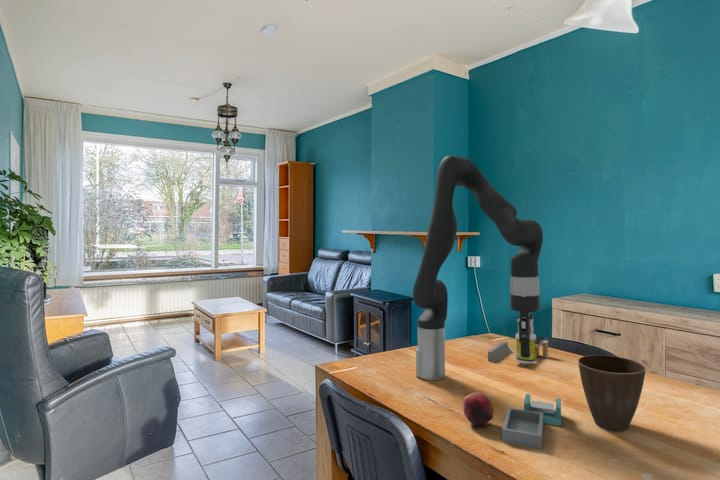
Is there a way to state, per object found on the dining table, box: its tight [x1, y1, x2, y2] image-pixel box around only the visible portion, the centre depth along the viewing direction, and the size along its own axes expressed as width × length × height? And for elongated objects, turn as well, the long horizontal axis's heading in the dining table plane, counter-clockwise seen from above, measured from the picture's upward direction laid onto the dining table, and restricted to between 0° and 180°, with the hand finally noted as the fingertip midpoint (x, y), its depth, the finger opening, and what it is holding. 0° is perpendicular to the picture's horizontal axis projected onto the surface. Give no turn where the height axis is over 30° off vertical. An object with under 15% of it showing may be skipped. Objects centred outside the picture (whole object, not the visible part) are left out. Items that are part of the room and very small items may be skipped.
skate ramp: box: [487, 338, 549, 368], centre depth 165 cm, size 29×35×8 cm
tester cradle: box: [523, 393, 562, 427], centre depth 116 cm, size 9×7×4 cm
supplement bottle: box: [514, 325, 538, 365], centre depth 119 cm, size 5×5×10 cm
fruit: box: [462, 391, 495, 427], centre depth 112 cm, size 8×8×8 cm
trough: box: [501, 407, 544, 450], centre depth 107 cm, size 9×14×3 cm, turn 155°
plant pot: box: [577, 354, 646, 432], centre depth 111 cm, size 15×15×16 cm
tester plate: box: [530, 400, 555, 414], centre depth 116 cm, size 6×4×1 cm
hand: (526, 353), depth 119 cm, fingers closed on supplement bottle, 5 cm apart
